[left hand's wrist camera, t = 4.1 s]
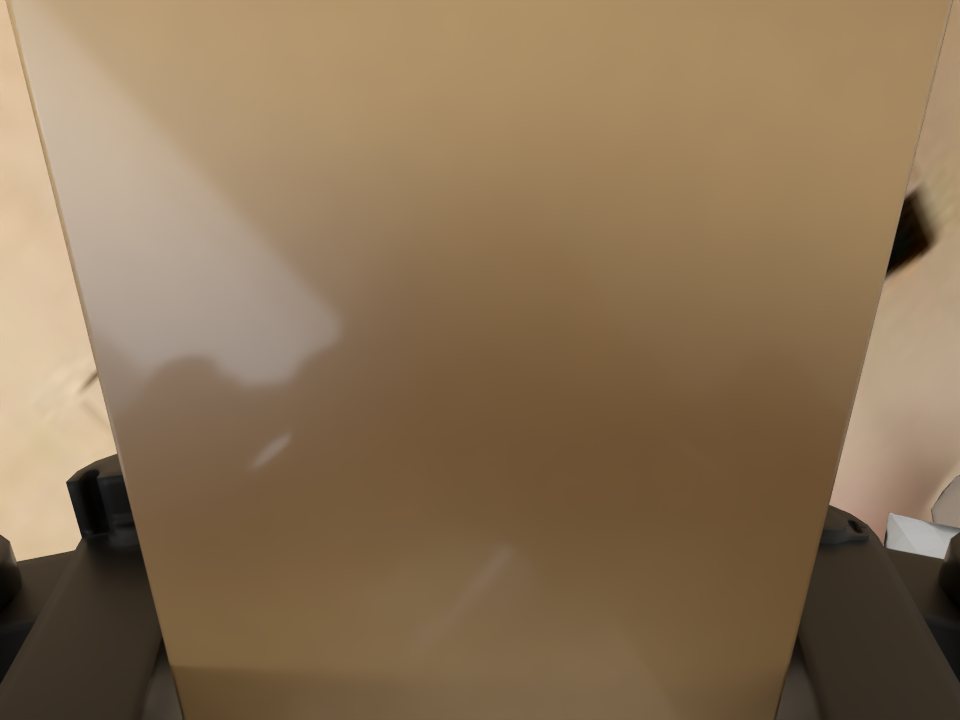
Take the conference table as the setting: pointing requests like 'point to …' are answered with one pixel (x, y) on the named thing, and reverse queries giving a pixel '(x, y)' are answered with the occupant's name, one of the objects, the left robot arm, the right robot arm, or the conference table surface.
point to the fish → (927, 526)
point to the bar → (479, 332)
